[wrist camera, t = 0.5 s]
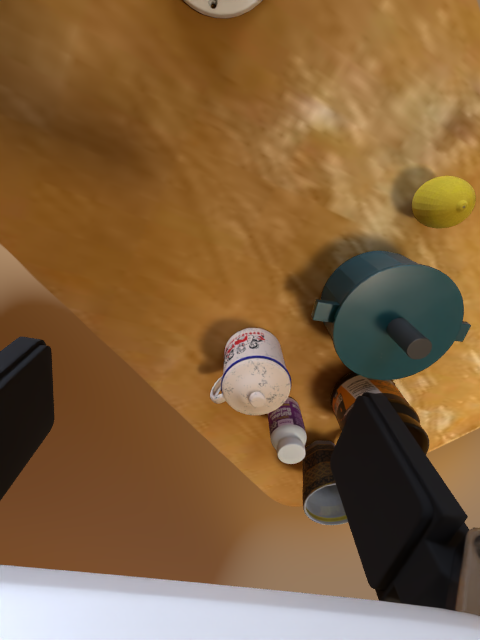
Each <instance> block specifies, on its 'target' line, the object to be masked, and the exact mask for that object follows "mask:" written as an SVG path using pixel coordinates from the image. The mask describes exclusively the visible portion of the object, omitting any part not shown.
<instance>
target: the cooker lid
mask: <svg viewBox="0 0 480 640" xmlns="http://www.w3.org/2000/svg"><path fill="white" fill-rule="evenodd" d="M463 315H464V305H463V299H462V296H461V293H460V291H459V289H458V287H457V286H456V284H455V283H454V282H453V281H452V280H451V279H450V278H449V277H448V276H447V275H446V274H444V273H442V272H441V271H439V270H437V269H435V268H432V267H430V266H426V265H422V264H399V265H393V266H390V267H386V268H383V269H381V270H379V271H376V272H374V273H372V274H371V275H369V276H367V277H366V278H364V279H363V280H361V281H360V282H359V283H358V284H357V285H355V286H354V287H353V288H352V289H351V290H350V291H349V293H348V294H347V295H346V296H345V298H344V299H343V300H342V302H341V304H340V306H339V307H338V309H337V312H336V314H335V317H334V321H333V326H332V340H333V344H334V348H335V350H336V353H337V354H338V356H339V358H340V360H341V361H342V362H343V363H344V364H345V365H346V366H347V367H348V368H349V369H350V370H352V371H353V372H355V373H356V374H359V375H361V376H363V377H366V378H370V379H375V380H393V379H400V378H404V377H408V376H410V375H413V374H416V373H418V372H420V371H422V370H424V369H426V368H427V367H429V366H430V365H432V364H433V363H435V362H436V361H437V360H438V359H439V358H441V357H442V356H443V355H444V354H445V352H446V351H447V350H448V349H449V348H450V346H451V345H452V344H453V342H454V341H455V339H456V337H457V335H458V333H459V331H460V328H461V325H462V321H463Z"/></svg>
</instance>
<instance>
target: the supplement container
mask: <svg viewBox="0 0 480 640" xmlns="http://www.w3.org/2000/svg"><path fill="white" fill-rule="evenodd" d="M364 392H370V393H376V394H382V395H385V396H386V397H387V399H388V400H389V402H390V403H391V405H392V406H393V408H394V409H395V411H396V412H397V414H398V415H399V417H400V418H401V419H402V421H403V422H404V424H405V425H406V427H407V428H408V430H409V431H410V433H411V434H412V436H413V437H414V439H415V440H416V442H417V443H418V444H419V446H420V447H421V449H422V450H423V452H424V453H425V455H426V454H427V451H428V448H429V438H428V435H427V434H426V432H425V431H424V429H423V428H422V427H421V425H420V420H419V417H418V415H417V413H416V412H415V410H414V409H413V408H412V407H411V406H410V405H409V404H408V402H407V401H406V400H405V398H404V397H403V396H402V394H401V393H400V391H399V390H398V389H397V387H396V386H395V384H394V382H393V381H392V380H375V379H370V378H366V377H363V376H361V375H359V374H356V373H355V372H352V373H350V374H348V375H346V376H345V377H343V378H342V379H341V380H340V381H339V382H338V383H337V384H336V385H335V387H334V389H333V391H332V394H331V406H332V409H333V412H334V413H335V415H336V418H337V420H338V423H339V425H340V428H341V430H343V427H344V425H345V423H346V421H347V418H348V416H349V414H350V411H351V409H352V407H353V404H354V402H355V400H356V398H357V397H358V396H362V394H363V393H364Z"/></svg>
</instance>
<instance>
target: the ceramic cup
mask: <svg viewBox="0 0 480 640" xmlns="http://www.w3.org/2000/svg"><path fill="white" fill-rule="evenodd" d="M335 446H336V445H335V444H334V443H332V442H331V441H314V442H313V443H311V444H310V445H308V446H307V447H305V452H306V454H305V457H304V459H303V460H302V466H303V508H304V512H305V514H306V515H307V516H308V518H310V519H311V520H313V521H314V522H317V523H320V524H325V525H338V524H343V523H347V522H348V520H347V516H346V513H345V510H344V507H343V504H342V501H341V498H340V495H339V492H338V489H337V486H336V483H335V480H334V477H333V474H332V471H331V467H330V459H331V455H332V453H333V451H334V448H335Z"/></svg>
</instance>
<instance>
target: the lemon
mask: <svg viewBox="0 0 480 640" xmlns="http://www.w3.org/2000/svg"><path fill="white" fill-rule="evenodd" d="M475 201H476V196H475V191H474V190H473V188H472V186H471V185H470V184H469V183H467V182H466V181H465V180H462V179H460V178H458V177H453V176H442V177H436V178H434V179H431V180H429V181H427V182H426V183H424V184H423V185H422V186H421V187H420V188H419V189H418V190H417V192H416V193H415V195H414V197H413V200H412V212H413V214H414V216H415V218H416V219H417V220H418V221H419V222H420V223H422V224H424V225H425V226H428V227H432V228H448V227H452V226H455V225H457V224H459V223H461V222H462V221H464V220H465V219H466V218H467V217H468V216H469V215H470V214H471V212H472V210H473V208H474V206H475Z"/></svg>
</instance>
